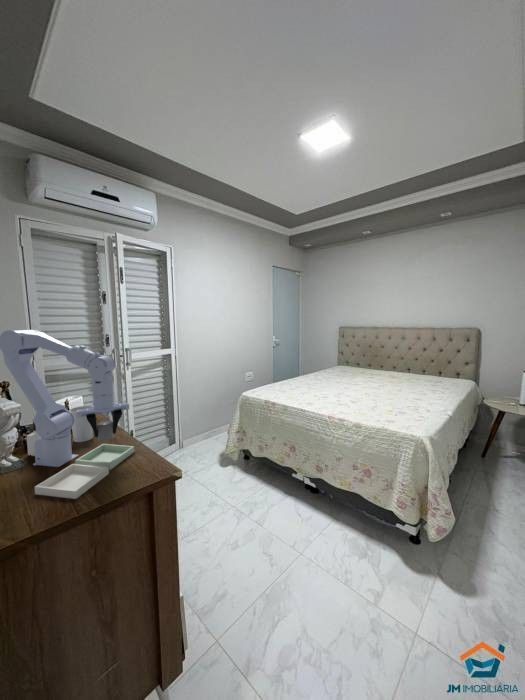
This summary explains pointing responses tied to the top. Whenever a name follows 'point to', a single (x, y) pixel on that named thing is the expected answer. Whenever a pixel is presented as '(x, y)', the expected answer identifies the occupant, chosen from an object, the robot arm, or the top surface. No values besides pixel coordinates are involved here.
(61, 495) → the bin
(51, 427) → the robot arm
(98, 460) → the bin
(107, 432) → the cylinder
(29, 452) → the medicine bottle
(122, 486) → the top surface
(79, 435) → the cup
